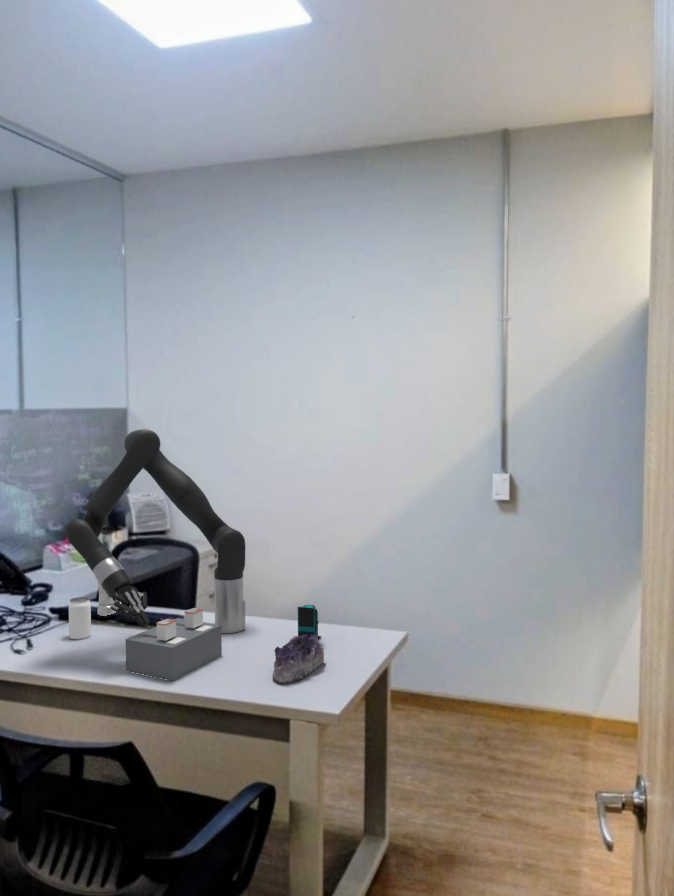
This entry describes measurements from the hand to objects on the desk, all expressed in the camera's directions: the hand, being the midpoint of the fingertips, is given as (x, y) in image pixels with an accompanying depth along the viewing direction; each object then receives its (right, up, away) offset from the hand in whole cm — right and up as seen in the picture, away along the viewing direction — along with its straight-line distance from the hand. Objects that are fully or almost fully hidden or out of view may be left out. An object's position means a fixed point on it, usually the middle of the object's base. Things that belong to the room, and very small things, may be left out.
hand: (146, 625), depth 194 cm
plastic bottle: (-27, -10, +48) cm, 56 cm away
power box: (+7, -12, +4) cm, 14 cm away
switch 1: (+6, -3, -3) cm, 8 cm away
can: (-29, -11, +28) cm, 41 cm away
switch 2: (+11, -3, +8) cm, 14 cm away
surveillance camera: (+45, -11, +23) cm, 51 cm away
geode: (+42, -12, -3) cm, 44 cm away
